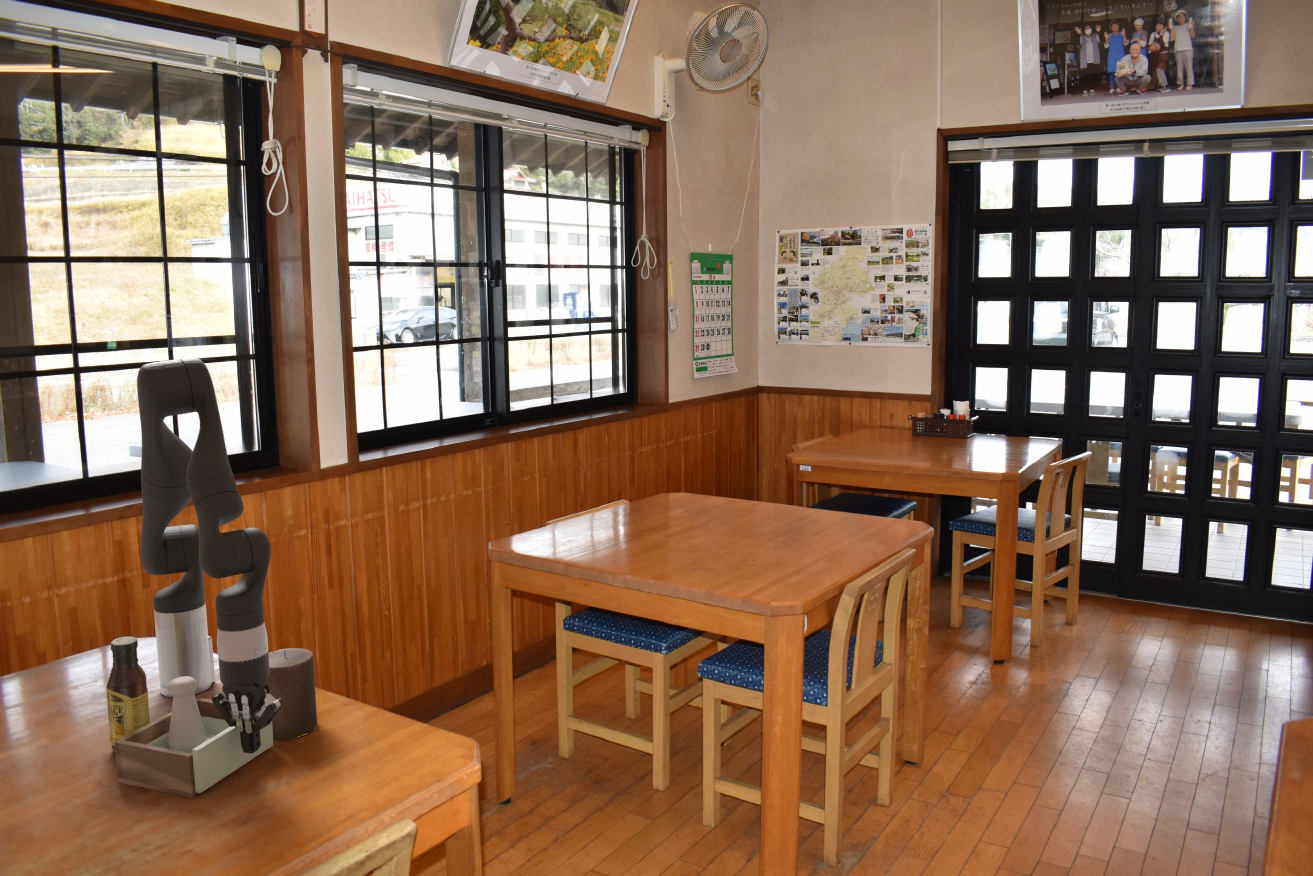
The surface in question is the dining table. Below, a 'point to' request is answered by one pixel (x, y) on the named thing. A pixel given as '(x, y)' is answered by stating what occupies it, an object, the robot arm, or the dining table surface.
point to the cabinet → (159, 757)
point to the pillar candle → (293, 692)
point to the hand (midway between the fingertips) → (251, 751)
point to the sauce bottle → (126, 691)
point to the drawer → (219, 751)
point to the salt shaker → (185, 716)
